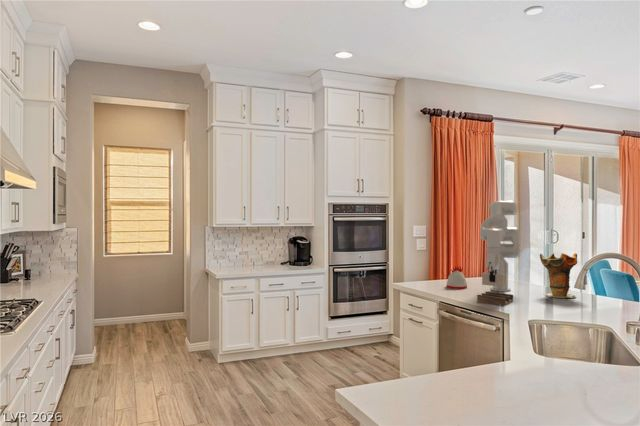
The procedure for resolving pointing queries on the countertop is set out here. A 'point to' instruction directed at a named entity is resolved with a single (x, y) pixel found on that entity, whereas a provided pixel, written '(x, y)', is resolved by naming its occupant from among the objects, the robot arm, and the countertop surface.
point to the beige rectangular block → (498, 280)
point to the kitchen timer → (456, 279)
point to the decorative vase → (559, 274)
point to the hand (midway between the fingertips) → (493, 281)
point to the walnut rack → (495, 298)
